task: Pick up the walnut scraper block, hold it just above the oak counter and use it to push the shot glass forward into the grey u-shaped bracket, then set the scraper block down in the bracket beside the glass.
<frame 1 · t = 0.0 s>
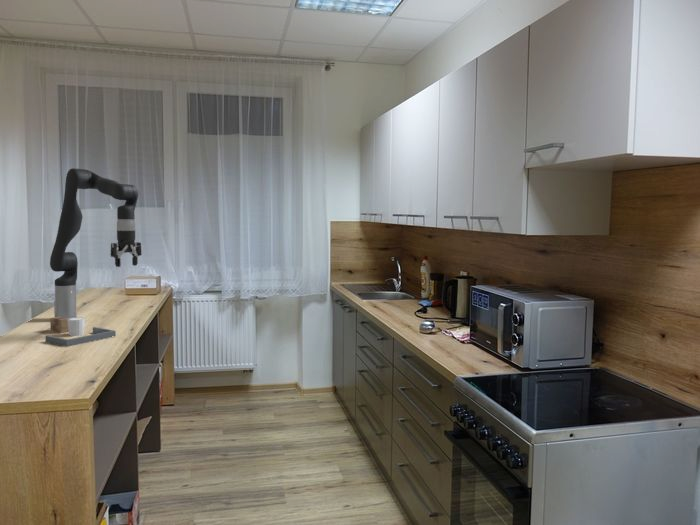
hand: (126, 266, 237), 29 cm above the table, tool pointing down, fingers open, 8 cm apart
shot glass: (76, 335, 230), on the table
scraper block: (60, 331, 236), on the table
grey u-shaped bracket: (80, 338, 222), on the table
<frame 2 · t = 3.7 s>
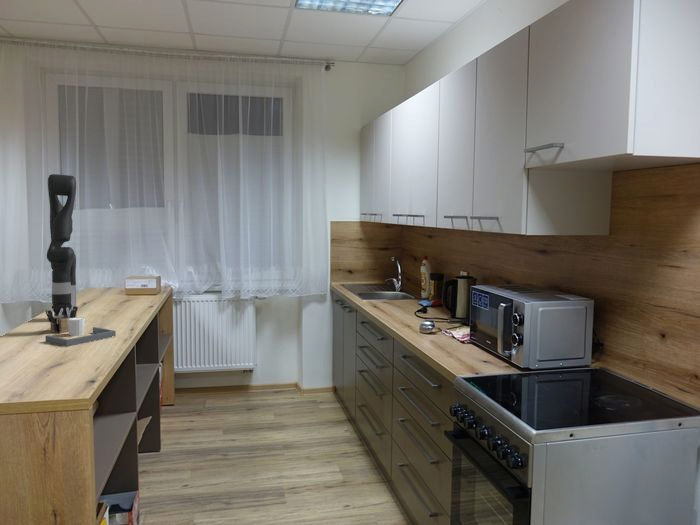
hand: (62, 330, 235), 0 cm above the table, tool pointing down, fingers closed on scraper block, 4 cm apart
scraper block: (60, 331, 236), on the table, touching gripper
everything else where it was.
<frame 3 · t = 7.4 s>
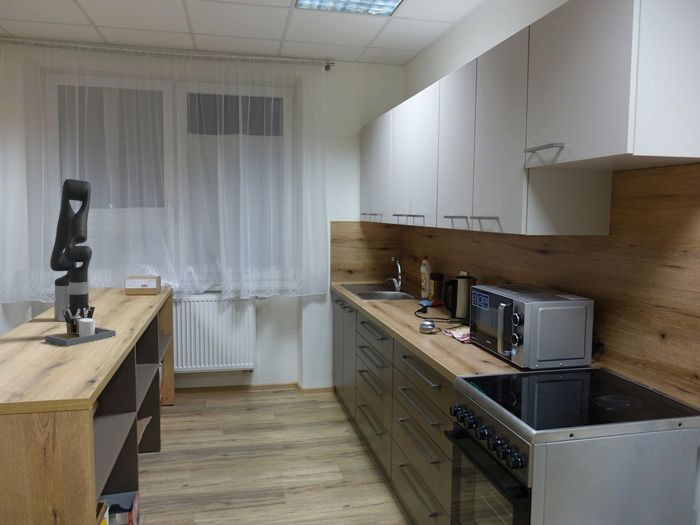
hand: (79, 331, 229), 2 cm above the table, tool pointing down, fingers closed on scraper block, 4 cm apart
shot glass: (86, 336, 227), on the table
scraper block: (77, 332, 230), point 1 cm above the table, tilted 6°, touching gripper
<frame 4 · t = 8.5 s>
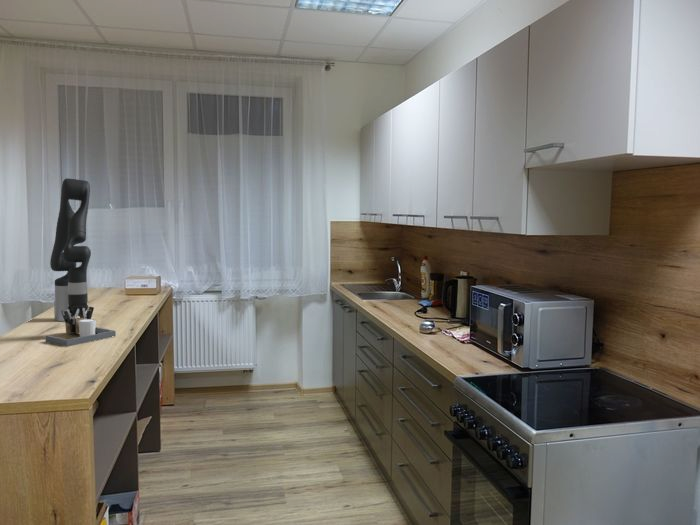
hand: (78, 331, 230), 1 cm above the table, tool pointing down, fingers closed on scraper block, 4 cm apart
scraper block: (76, 332, 231), point 1 cm above the table, tilted 7°, touching gripper
when the fingers open (2 cm above the table, at t = 13.3 s): scraper block drops 1 cm, on the table.
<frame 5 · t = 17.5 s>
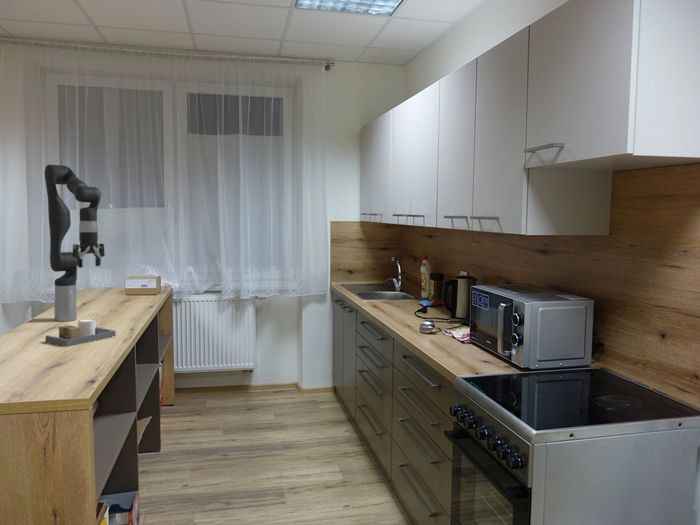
hand: (89, 266, 242), 28 cm above the table, tool pointing down, fingers open, 8 cm apart
scraper block: (69, 341, 218), on the table
everything else where it was.
at the end: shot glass inside the target area (4.9 cm from its centre), on the table; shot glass tilted 0°; scraper block inside the target area (4.9 cm from its centre), on the table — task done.
